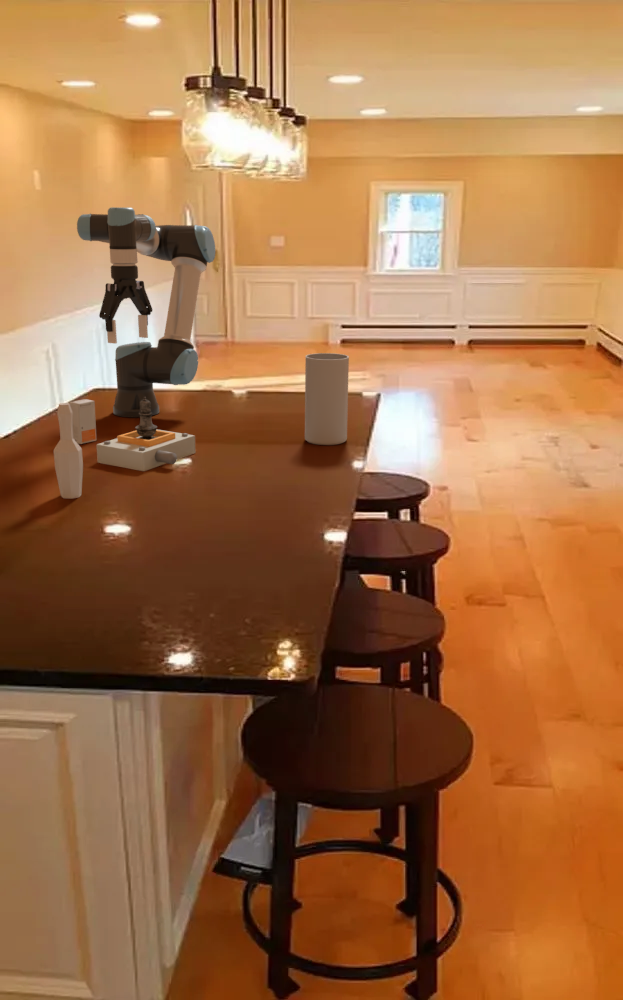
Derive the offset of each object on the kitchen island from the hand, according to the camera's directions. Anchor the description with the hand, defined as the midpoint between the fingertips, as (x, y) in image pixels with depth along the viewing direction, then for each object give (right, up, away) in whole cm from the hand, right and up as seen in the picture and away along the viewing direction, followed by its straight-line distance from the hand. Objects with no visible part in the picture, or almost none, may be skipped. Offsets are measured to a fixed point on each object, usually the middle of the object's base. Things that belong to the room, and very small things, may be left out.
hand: (128, 340), depth 254 cm
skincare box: (-13, -30, +2) cm, 32 cm away
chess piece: (+8, -30, -16) cm, 35 cm away
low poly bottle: (-3, -46, -48) cm, 66 cm away
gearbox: (+10, -35, -16) cm, 40 cm away
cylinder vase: (+58, -29, +6) cm, 65 cm away
